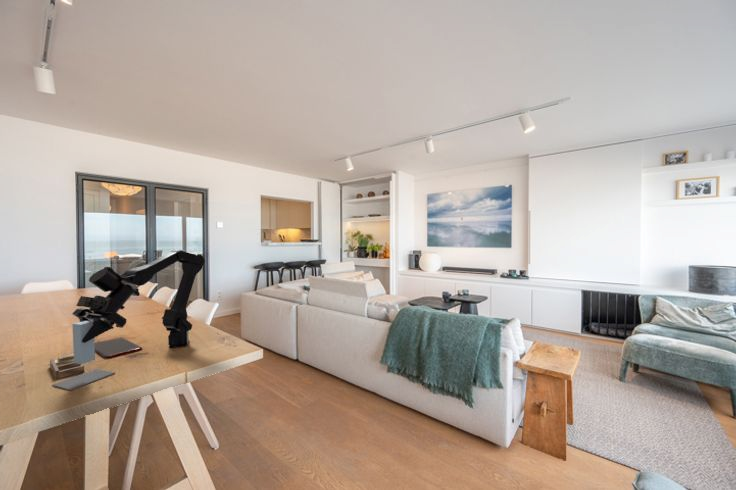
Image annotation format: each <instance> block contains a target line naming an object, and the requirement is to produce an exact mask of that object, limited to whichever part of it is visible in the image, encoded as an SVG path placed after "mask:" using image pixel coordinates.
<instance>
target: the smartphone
mask: <svg viewBox="0 0 736 490" xmlns="http://www.w3.org/2000/svg"><path fill="white" fill-rule="evenodd" d="M94 346H95V354H98V355H99V356H100V357H102V358H103V359H106V360H108V359H112V358H116V357H120V356H123V355H124V356H125V355H128V354H132V353H136V352H140V351H142V350H143V347H142V346H140V345H138V344H135V343H134V342H132V341H130V340H128V339H126V338H124V337H115V338H110V339H106V340H101V341H96V342H94Z"/></svg>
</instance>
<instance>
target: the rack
mask: <svg viewBox="0 0 736 490" xmlns="http://www.w3.org/2000/svg"><path fill="white" fill-rule="evenodd" d="M55 360H58V358H56V359H53V358H52V359H50V361H49V363H50V364H49V367H50V369H51V371H52V373H53V376H54V378H55V379H56V380H57V379H61V378H65V377H69V376H72V375H77V374H80V373H85V366H84V364H78V363H74V362H73V363H68V364H64V365H60V366H57V365H56V363H55Z"/></svg>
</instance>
